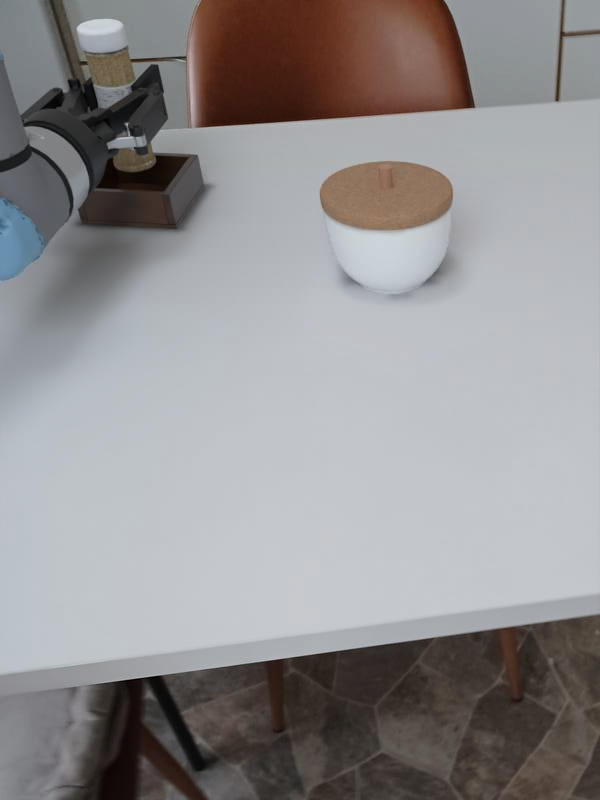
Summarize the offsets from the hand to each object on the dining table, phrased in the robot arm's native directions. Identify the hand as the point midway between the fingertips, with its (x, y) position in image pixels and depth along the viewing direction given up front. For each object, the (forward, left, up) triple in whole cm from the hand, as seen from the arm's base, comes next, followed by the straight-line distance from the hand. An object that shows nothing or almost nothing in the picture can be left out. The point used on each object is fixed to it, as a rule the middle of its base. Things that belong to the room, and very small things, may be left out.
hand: (134, 77), depth 103 cm
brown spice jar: (0, -5, -7) cm, 9 cm away
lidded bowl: (+30, -18, -12) cm, 37 cm away
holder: (0, -5, -12) cm, 13 cm away
